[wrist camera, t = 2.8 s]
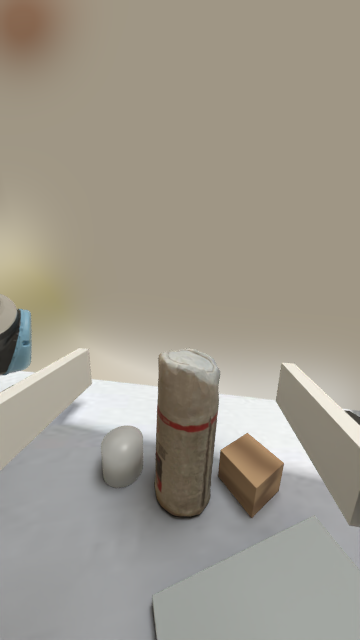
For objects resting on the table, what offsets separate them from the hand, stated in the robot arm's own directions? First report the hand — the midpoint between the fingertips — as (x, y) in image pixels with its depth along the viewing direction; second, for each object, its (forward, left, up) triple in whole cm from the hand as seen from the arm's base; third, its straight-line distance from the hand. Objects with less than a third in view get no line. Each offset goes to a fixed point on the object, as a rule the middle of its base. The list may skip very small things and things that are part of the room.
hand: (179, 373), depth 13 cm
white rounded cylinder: (-4, +14, -23) cm, 27 cm away
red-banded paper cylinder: (+4, +9, -23) cm, 25 cm away
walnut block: (+13, +6, -23) cm, 27 cm away
